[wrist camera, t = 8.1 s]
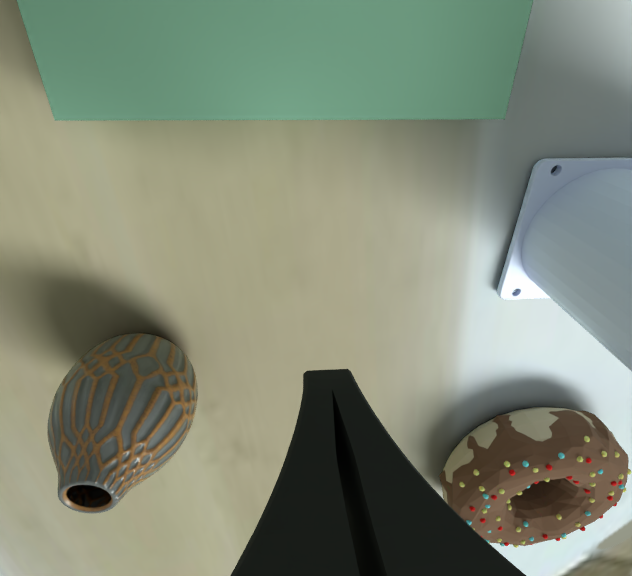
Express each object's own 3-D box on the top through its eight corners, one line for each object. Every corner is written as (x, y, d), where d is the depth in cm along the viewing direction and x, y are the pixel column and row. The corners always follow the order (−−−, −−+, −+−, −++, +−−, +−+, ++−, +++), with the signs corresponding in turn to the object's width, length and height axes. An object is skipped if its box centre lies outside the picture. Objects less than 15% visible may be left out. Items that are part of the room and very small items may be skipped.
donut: (426, 413, 28) (450, 476, 24) (612, 376, 28) (672, 434, 24) (434, 514, 36) (455, 576, 32) (582, 486, 35) (623, 546, 31)
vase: (67, 325, 22) (-44, 463, 15) (185, 304, 22) (133, 433, 14) (119, 406, 26) (51, 550, 18) (220, 389, 26) (193, 527, 18)
